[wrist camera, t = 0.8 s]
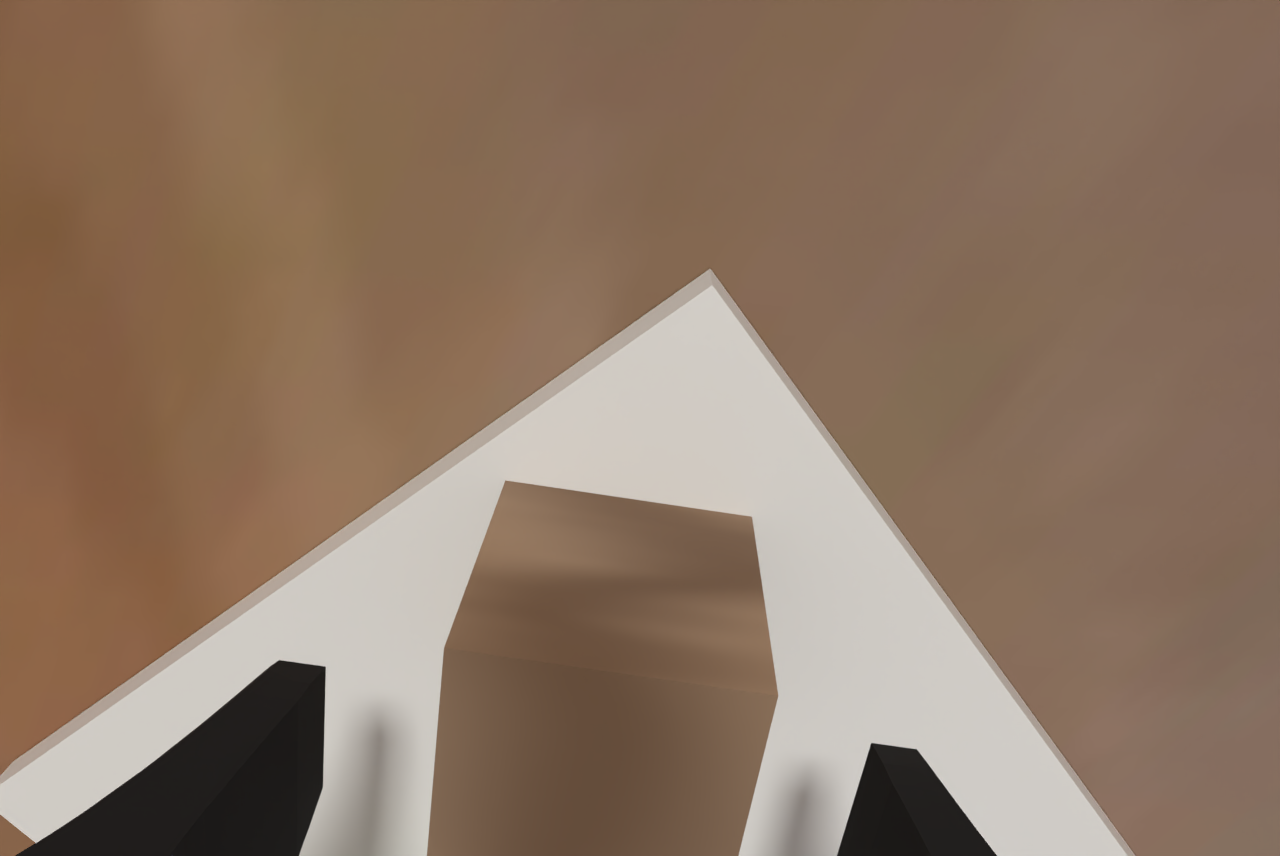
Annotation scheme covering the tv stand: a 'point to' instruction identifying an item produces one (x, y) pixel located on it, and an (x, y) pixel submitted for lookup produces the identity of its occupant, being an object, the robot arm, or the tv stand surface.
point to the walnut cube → (603, 682)
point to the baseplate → (642, 470)
